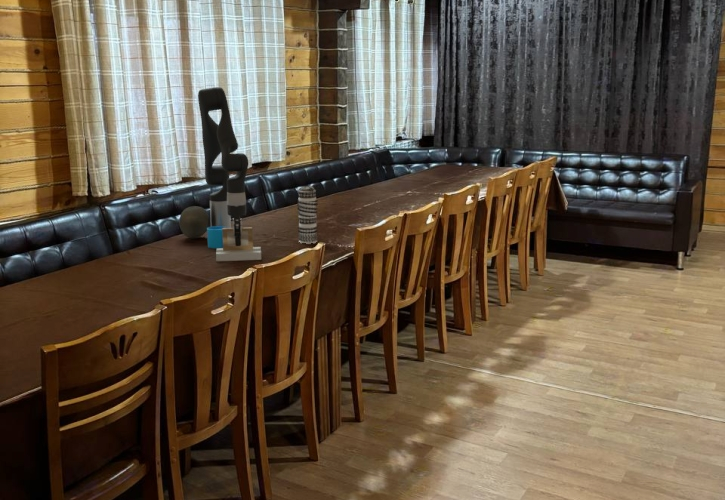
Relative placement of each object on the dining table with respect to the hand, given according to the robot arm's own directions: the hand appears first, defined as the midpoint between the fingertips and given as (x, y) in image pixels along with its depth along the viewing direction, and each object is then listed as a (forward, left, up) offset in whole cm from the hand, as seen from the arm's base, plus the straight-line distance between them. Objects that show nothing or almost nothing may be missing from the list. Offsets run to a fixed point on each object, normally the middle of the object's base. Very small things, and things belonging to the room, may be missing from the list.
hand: (238, 244), depth 275 cm
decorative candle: (-24, +31, -6) cm, 40 cm away
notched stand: (0, 0, -5) cm, 5 cm away
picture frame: (0, 0, -2) cm, 2 cm away
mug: (-21, -8, -6) cm, 23 cm away
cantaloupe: (-39, -20, -6) cm, 44 cm away
